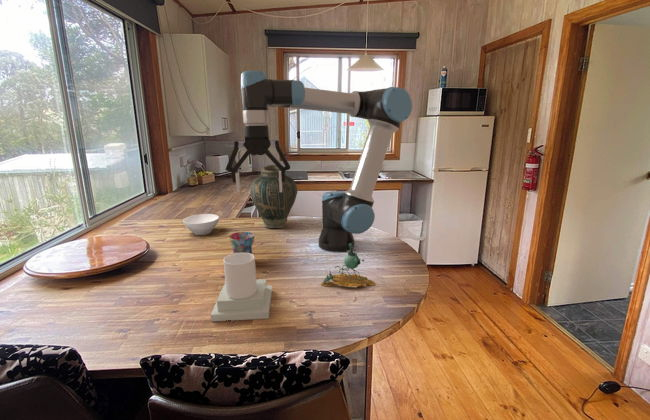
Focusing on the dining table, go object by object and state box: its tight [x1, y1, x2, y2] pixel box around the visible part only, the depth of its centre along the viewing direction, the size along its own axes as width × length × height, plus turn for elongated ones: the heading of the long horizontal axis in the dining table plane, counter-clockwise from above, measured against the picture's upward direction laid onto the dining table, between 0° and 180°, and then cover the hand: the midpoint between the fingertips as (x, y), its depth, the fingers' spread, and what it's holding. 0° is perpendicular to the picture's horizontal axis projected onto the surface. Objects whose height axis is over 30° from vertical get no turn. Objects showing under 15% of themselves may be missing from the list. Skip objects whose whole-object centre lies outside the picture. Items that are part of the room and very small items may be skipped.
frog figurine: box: [320, 243, 377, 288], centre depth 109 cm, size 10×18×15 cm, turn 84°
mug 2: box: [222, 253, 257, 299], centre depth 95 cm, size 12×8×10 cm
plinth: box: [210, 278, 273, 322], centre depth 97 cm, size 15×15×5 cm
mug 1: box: [227, 231, 255, 254], centre depth 127 cm, size 12×9×11 cm
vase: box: [250, 164, 298, 229], centre depth 166 cm, size 22×22×30 cm
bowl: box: [182, 213, 220, 236], centre depth 160 cm, size 16×16×7 cm
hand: (259, 192), depth 111 cm, fingers open, 13 cm apart
